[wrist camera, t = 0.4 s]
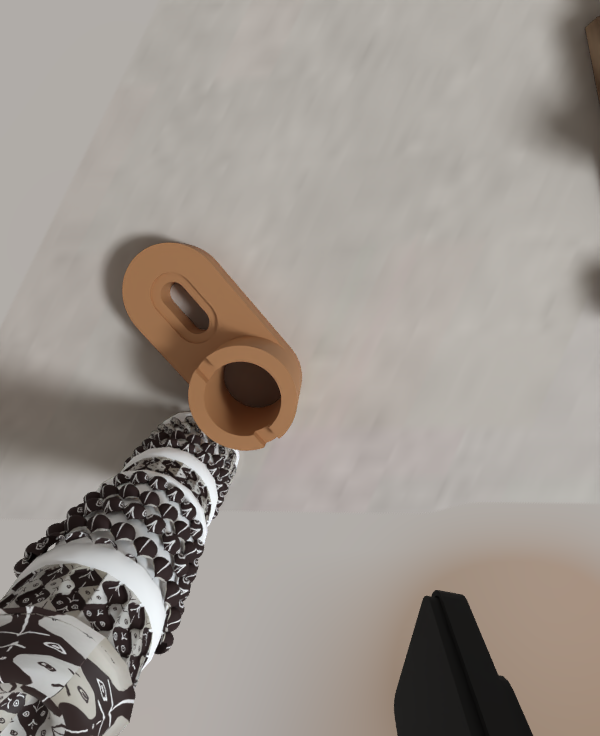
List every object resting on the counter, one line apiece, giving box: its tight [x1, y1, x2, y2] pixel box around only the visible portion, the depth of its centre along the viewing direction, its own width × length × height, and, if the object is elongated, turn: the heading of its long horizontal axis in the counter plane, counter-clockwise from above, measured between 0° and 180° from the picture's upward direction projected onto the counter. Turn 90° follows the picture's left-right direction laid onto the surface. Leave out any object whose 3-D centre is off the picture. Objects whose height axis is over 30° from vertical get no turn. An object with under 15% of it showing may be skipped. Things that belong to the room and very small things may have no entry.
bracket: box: [122, 243, 302, 451], centre depth 36 cm, size 18×8×7 cm, turn 40°
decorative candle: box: [0, 412, 239, 736], centre depth 30 cm, size 9×9×25 cm
